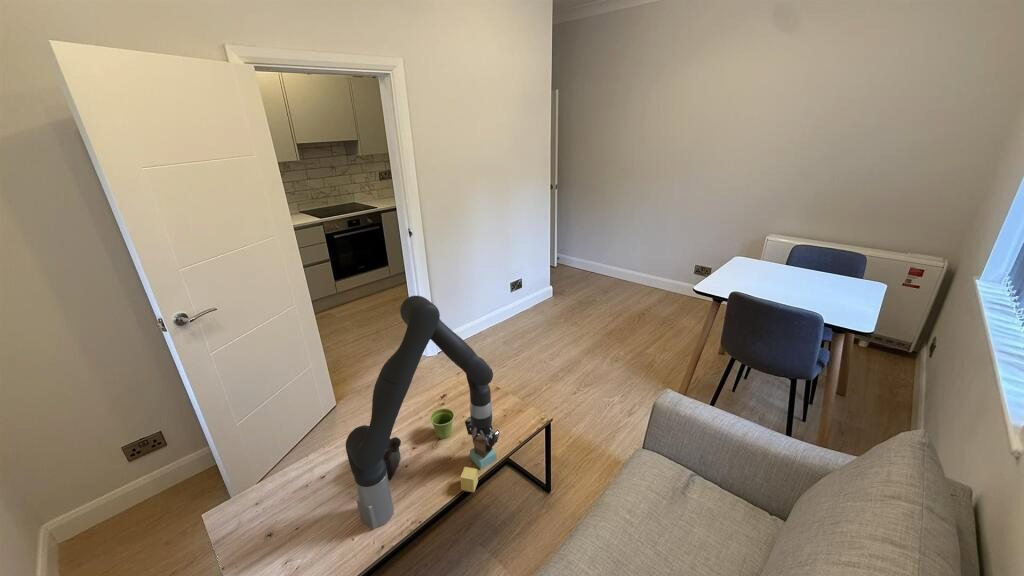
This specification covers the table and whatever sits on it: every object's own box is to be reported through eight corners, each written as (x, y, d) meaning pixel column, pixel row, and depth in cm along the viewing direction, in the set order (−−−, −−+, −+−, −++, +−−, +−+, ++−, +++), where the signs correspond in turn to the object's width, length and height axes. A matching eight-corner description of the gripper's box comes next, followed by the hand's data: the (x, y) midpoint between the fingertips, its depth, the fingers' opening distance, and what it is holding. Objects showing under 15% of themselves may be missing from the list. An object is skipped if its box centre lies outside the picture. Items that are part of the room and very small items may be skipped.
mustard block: (474, 492, 138) (473, 479, 136) (461, 490, 139) (460, 477, 137) (477, 481, 142) (477, 469, 140) (465, 479, 143) (464, 466, 141)
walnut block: (484, 458, 147) (483, 445, 145) (474, 452, 149) (473, 440, 147) (491, 450, 151) (491, 437, 148) (481, 445, 153) (481, 432, 150)
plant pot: (453, 442, 159) (452, 424, 155) (429, 442, 159) (427, 424, 156) (457, 425, 168) (456, 408, 164) (434, 425, 168) (432, 408, 164)
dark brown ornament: (361, 479, 143) (352, 440, 136) (374, 455, 153) (367, 417, 146) (404, 484, 142) (397, 444, 134) (414, 459, 152) (409, 421, 144)
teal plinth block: (480, 470, 147) (480, 462, 145) (470, 458, 152) (469, 450, 150) (496, 460, 151) (496, 452, 149) (485, 449, 156) (485, 441, 154)
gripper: (458, 409, 143) (460, 446, 150) (491, 424, 136) (493, 463, 143) (471, 397, 149) (473, 433, 156) (504, 411, 142) (504, 449, 148)
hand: (482, 447), depth 149 cm, fingers open, 5 cm apart
